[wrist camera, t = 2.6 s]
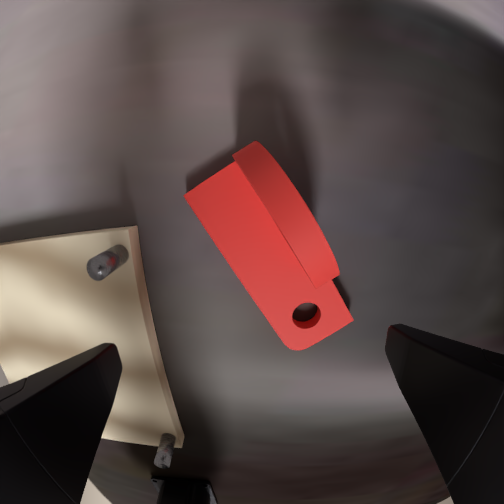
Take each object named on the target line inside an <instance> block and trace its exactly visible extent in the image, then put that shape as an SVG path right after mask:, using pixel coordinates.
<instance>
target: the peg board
mask: <svg viewBox="0 0 504 504" xmlns="http://www.w3.org/2000/svg"><path fill="white" fill-rule="evenodd" d="M102 343H114V344H115V345H116V346H117V349H118V352H119V355H120V359H121V362H122V367H123V369H122V374H121V377H120V381H119V385H118V389H117V392H116V396H115V400H114V404H113V407H112V410H111V412H110V415H109V418H108V420H107V423H106V426H105V429H104V431H103V434H102V437H101V438H105V439H110V440H116V441H122V442H128V443H135V444H143V445H151V446H158V450H157V453H156V456H155V460H154V464H155V465H156V466H157V467H159V468H163V469H167V468H169V467H170V463H171V458H172V454H173V450H174V448H182V445H183V441H184V433H183V430H182V427H181V424H180V421H179V418H178V414H177V411H176V408H175V405H174V401H173V398H172V394H171V391H170V387H169V384H168V380H167V376H166V373H165V369H164V365H163V361H162V357H161V353H160V349H159V345H158V340H157V336H156V332H155V327H154V322H153V318H152V313H151V308H150V303H149V298H148V292H147V287H146V281H145V275H144V269H143V263H142V256H141V249H140V242H139V235H138V227H137V226H128V227H118V228H109V229H101V230H92V231H84V232H76V233H68V234H60V235H53V236H45V237H38V238H31V239H24V240H18V241H11V242H5V243H0V364H1V367H2V369H3V371H4V373H5V375H6V377H7V379H8V381H9V383H10V384H11V383H13V382H16V381H18V380H20V379H23V378H25V377H28V376H30V375H32V374H34V373H37V372H39V371H41V370H44V369H46V368H48V367H51V366H53V365H55V364H57V363H60V362H62V361H64V360H66V359H69V358H71V357H73V356H75V355H78V354H80V353H82V352H84V351H87V350H89V349H91V348H93V347H95V346H98V345H100V344H102Z"/></svg>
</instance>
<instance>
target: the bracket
mask: <svg viewBox="0 0 504 504" xmlns="http://www.w3.org/2000/svg"><path fill="white" fill-rule="evenodd" d="M232 156H233V158H234V160H235V162H233V163H231V164H230V165H228V166H227V167H225V168H224V169H222V170H220V171H219V172H217V173H216V174H214V175H213V176H211V177H210V178H208V179H207V180H205V181H204V182H202V183H201V184H199V185H198V186H196V187H195V188H193V189H192V190H190V191H189V192H188V193H186V194H185V195H183V196H184V197H185V199H186V200H187V202H188V203H189V205H190V207H191V208H192V210H193V211H194V213H195V214H196V216H197V217H198V219H199V220H200V222H201V223H202V225H203V226H204V228H205V229H206V231H207V232H208V234H209V235H210V237H211V238H212V240H213V241H214V243H215V244H216V246H217V247H218V249H219V250H220V252H221V253H222V255H223V256H224V257H225V259H226V260H227V262H228V263H229V265H230V266H231V268H232V269H233V271H234V272H235V274H236V275H237V277H238V278H239V279H240V281H241V282H242V284H243V285H244V287H245V288H246V290H247V291H248V293H249V294H250V295H251V297H252V298H253V300H254V301H255V303H256V304H257V306H258V307H259V308H260V310H261V311H262V313H263V314H264V316H265V317H266V318H267V320H268V321H269V323H270V324H271V326H272V327H273V328H274V330H275V331H276V333H277V334H278V335H279V337H280V338H281V340H282V341H283V343H284V344H285V345H286V346H287V347H288V348H290V349H293V350H303V349H306V348H308V347H310V346H312V345H314V344H315V343H317V342H319V341H320V340H322V339H324V338H326V337H327V336H329V335H331V334H332V333H334V332H336V331H337V330H339V329H341V328H342V327H344V326H345V325H347V324H349V323H350V322H352V321H353V318H352V316H351V314H350V312H349V311H348V309H347V307H346V305H345V303H344V301H343V299H342V298H341V296H340V294H339V292H338V290H337V288H336V287H335V285H334V283H333V281H332V279H333V278H335V277H337V276H338V275H339V268H338V265H337V262H336V260H335V257H334V255H333V253H332V251H331V248H330V246H329V244H328V242H327V240H326V238H325V237H324V235H323V233H322V231H321V229H320V227H319V225H318V224H317V222H316V220H315V218H314V217H313V215H312V213H311V212H310V210H309V208H308V207H307V205H306V203H305V202H304V200H303V199H302V197H301V196H300V194H299V192H298V191H297V189H296V188H295V186H294V185H293V183H292V182H291V181H290V179H289V178H288V176H287V175H286V174H285V172H284V171H283V169H282V168H281V167H280V165H279V164H278V163H277V162H276V160H275V159H274V158H273V157H272V155H271V154H270V153H269V152H268V151H267V150H266V149H265V148H264V147H263V146H262V145H261V144H260V143H259V142H258V141H254V142H252V143H251V144H249V145H247V146H246V147H244V148H242V149H241V150H239V151H238V152H236V153H234V154H233V155H232ZM306 302H310V303H314V304H316V305H317V312H316V314H315V316H314V317H313V318H312V319H310V320H308V321H304V322H300V321H297V320H295V319H294V318H293V317H292V314H293V311H294V310H295V308H296V307H297V306H298V305H300V304H302V303H306Z"/></svg>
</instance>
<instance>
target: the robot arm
mask: <svg viewBox="0 0 504 504" xmlns="http://www.w3.org/2000/svg"><path fill="white" fill-rule="evenodd" d="M385 352H386V355H387V358H388V360H389V363H390V365H391V368H392V370H393V373H394V375H395V378H396V381H397V383H398V386H399V388H400V390H401V392H402V394H403V396H404V398H405V400H406V401H407V403H408V405H409V407H410V409H411V411H412V413H413V415H414V417H415V419H416V421H417V423H418V425H419V427H420V429H421V431H422V433H423V435H424V437H425V439H426V442H427V444H428V446H429V448H430V450H431V452H432V454H433V456H434V459H435V461H436V463H437V465H438V467H439V470H440V472H441V474H442V476H443V479H444V481H445V483H446V485H447V488H448V491H449V493H450V495H451V498H452V500H453V503H454V504H504V355H503V354H500V353H496V352H492V351H489V350H485V349H481V348H478V347H475V346H471V345H468V344H465V343H461V342H458V341H455V340H451V339H448V338H445V337H442V336H438V335H435V334H432V333H429V332H425V331H422V330H419V329H416V328H413V327H409V326H406V325H403V324H396V325H391V326H390V327H389V328H388V332H387V339H386V345H385ZM122 369H123V367H122V362H121V359H120V355H119V352H118V349H117V346H116V345H115V344H114V343H102V344H100V345H98V346H95V347H93V348H91V349H89V350H87V351H84V352H82V353H80V354H78V355H75V356H73V357H71V358H69V359H66V360H64V361H62V362H60V363H57V364H55V365H53V366H51V367H48V368H46V369H44V370H41V371H39V372H37V373H34V374H32V375H30V376H28V377H25V378H23V379H20V380H18V381H16V382H13V383H11V384H8V385H6V386H3V387H0V504H80V502H81V498H82V495H83V491H84V488H85V485H86V482H87V479H88V476H89V472H90V469H91V466H92V463H93V460H94V457H95V454H96V451H97V448H98V445H99V443H100V440H101V437H102V434H103V431H104V429H105V426H106V423H107V420H108V418H109V415H110V412H111V410H112V407H113V404H114V400H115V396H116V392H117V389H118V385H119V381H120V377H121V374H122ZM151 482H152V484H153V485H154V487H155V488H156V490H157V492H158V493H159V495H158V500H157V504H218V503H217V500H216V498H215V495H214V492H213V490H212V487H211V484H210V482H208V481H200V480H184V479H173V478H164V477H156V476H152V477H151Z"/></svg>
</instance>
